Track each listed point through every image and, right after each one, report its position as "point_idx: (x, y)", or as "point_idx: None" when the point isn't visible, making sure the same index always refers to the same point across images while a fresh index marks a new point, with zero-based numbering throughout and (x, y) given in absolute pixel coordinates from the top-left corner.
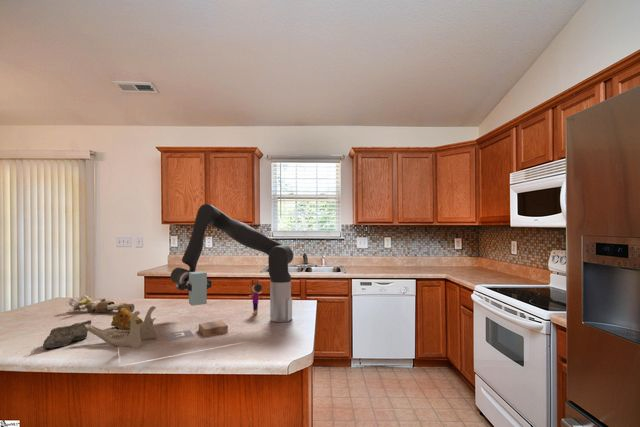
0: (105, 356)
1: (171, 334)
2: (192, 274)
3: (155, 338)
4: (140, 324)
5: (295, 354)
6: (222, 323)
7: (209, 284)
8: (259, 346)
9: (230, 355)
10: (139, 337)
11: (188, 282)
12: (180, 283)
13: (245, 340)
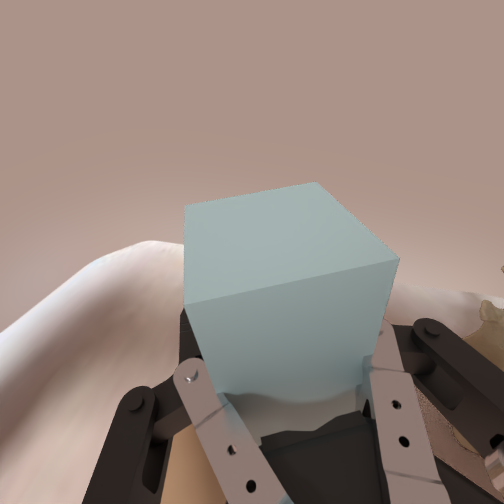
0: None
1: None
2: (312, 187)
3: (458, 437)
4: (484, 306)
5: (114, 259)
6: (167, 471)
7: (182, 313)
8: (143, 299)
9: None
10: (469, 337)
11: (386, 368)
12: (470, 355)
13: (150, 342)
